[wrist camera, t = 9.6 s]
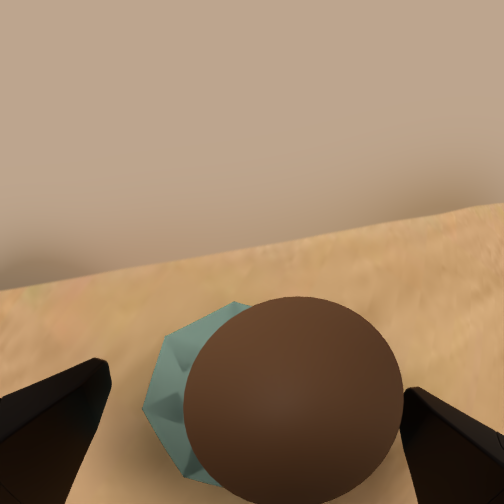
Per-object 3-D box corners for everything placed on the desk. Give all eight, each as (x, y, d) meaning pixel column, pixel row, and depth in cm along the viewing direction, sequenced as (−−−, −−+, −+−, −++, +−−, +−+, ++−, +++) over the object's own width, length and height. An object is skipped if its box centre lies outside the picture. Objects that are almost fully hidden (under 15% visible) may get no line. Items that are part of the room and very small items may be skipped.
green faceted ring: (349, 417, 14) (376, 419, 11) (217, 496, 11) (215, 518, 8) (269, 299, 18) (278, 276, 15) (137, 367, 15) (117, 358, 12)
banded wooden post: (285, 409, 15) (437, 414, 3) (233, 439, 13) (262, 547, 2) (254, 361, 16) (330, 254, 5) (201, 389, 15) (133, 358, 4)
